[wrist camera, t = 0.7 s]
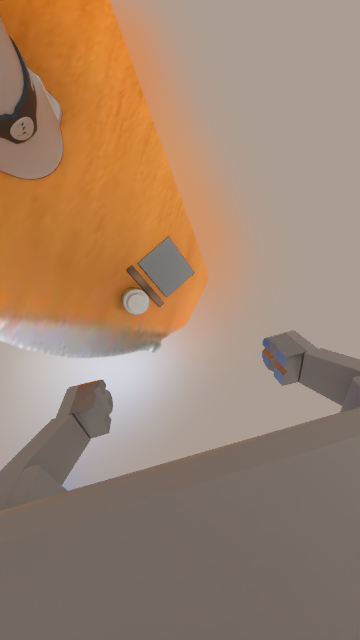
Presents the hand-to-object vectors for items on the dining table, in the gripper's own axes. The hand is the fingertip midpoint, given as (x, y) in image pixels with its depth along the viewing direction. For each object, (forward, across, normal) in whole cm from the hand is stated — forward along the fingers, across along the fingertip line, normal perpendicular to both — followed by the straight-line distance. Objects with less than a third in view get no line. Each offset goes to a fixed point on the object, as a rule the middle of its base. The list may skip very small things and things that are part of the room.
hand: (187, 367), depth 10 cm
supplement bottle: (+40, +7, +12) cm, 43 cm away
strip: (+41, +4, +10) cm, 43 cm away
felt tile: (+43, -3, +7) cm, 44 cm away
